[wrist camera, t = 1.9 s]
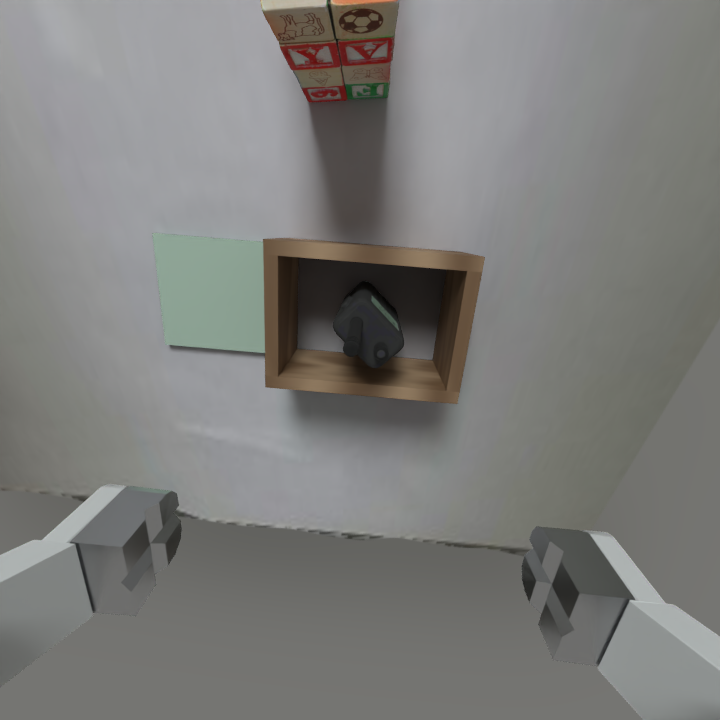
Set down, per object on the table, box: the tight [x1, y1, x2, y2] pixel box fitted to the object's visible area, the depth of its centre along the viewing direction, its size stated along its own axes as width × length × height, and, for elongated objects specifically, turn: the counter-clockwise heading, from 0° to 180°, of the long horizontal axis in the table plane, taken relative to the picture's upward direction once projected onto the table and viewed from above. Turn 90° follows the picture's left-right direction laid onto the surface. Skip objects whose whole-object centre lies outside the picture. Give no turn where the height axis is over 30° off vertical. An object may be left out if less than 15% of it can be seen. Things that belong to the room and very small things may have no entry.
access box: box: [263, 238, 485, 404], centre depth 29 cm, size 15×11×7 cm
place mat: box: [152, 233, 265, 353], centre depth 32 cm, size 10×10×1 cm
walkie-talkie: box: [333, 281, 404, 368], centre depth 25 cm, size 5×3×15 cm
